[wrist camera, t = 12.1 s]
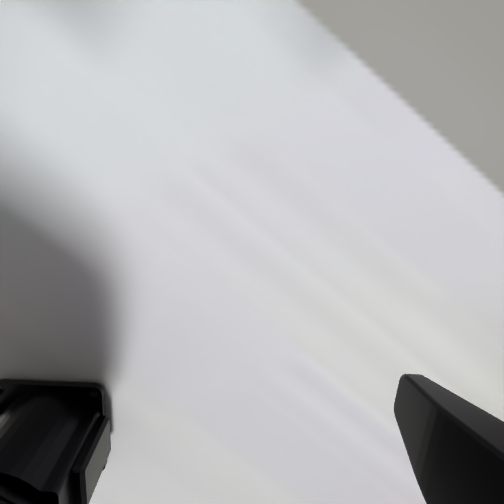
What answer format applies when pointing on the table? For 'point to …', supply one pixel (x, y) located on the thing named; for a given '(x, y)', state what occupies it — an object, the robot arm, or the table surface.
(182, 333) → the table surface
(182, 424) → the table surface
